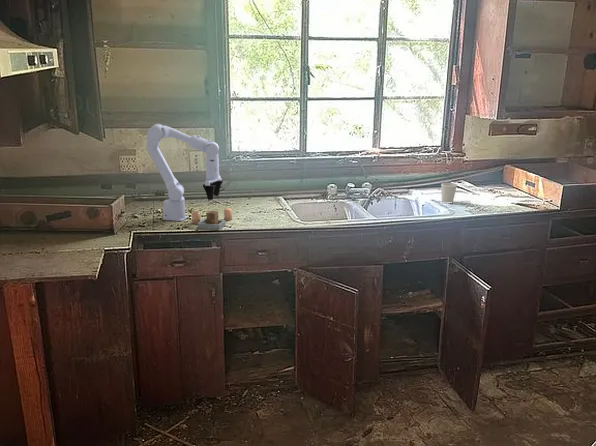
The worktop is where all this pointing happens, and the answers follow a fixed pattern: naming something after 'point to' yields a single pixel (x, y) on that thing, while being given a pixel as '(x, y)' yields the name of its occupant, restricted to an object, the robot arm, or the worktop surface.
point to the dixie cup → (448, 191)
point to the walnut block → (212, 217)
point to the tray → (211, 225)
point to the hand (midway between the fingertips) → (213, 197)
